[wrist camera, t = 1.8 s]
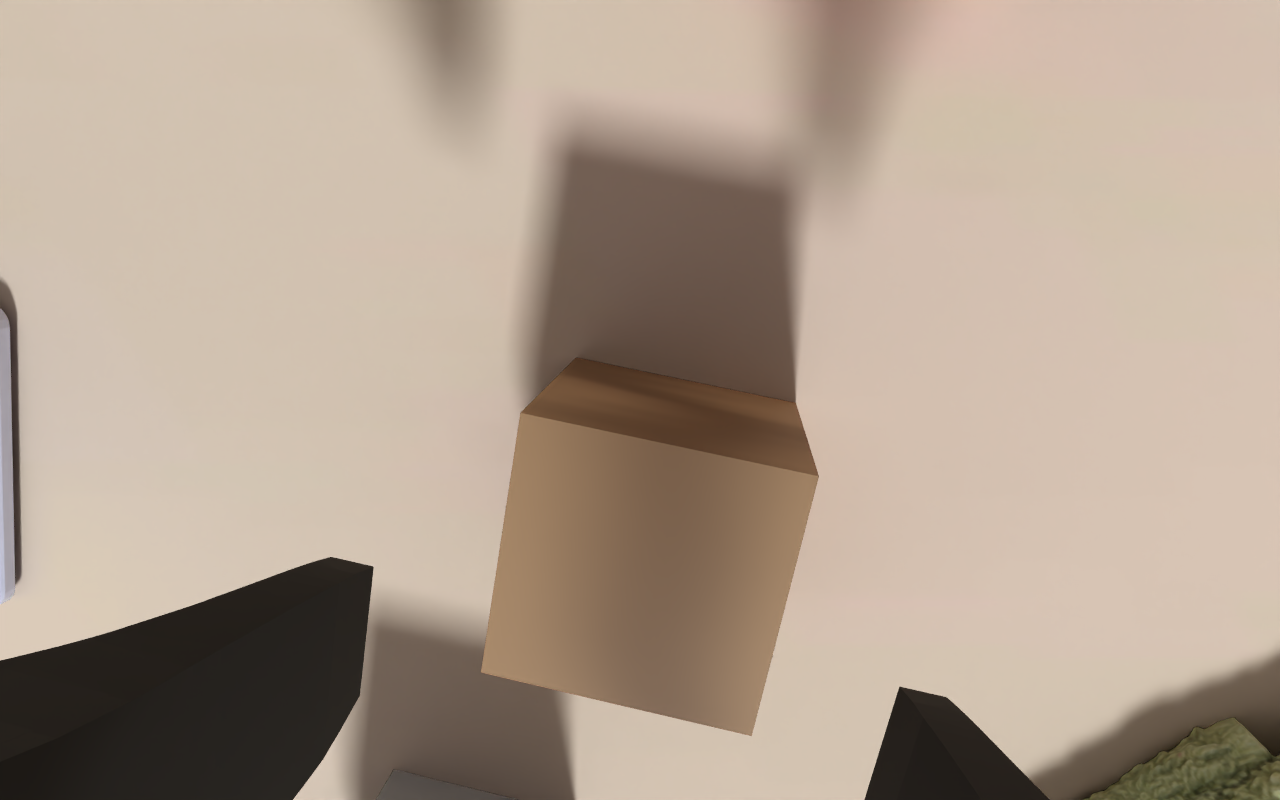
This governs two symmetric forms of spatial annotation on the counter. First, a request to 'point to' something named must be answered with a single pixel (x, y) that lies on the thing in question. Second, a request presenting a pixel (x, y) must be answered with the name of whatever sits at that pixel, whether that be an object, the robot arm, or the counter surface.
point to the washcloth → (1204, 769)
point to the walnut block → (650, 543)
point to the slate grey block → (429, 789)
